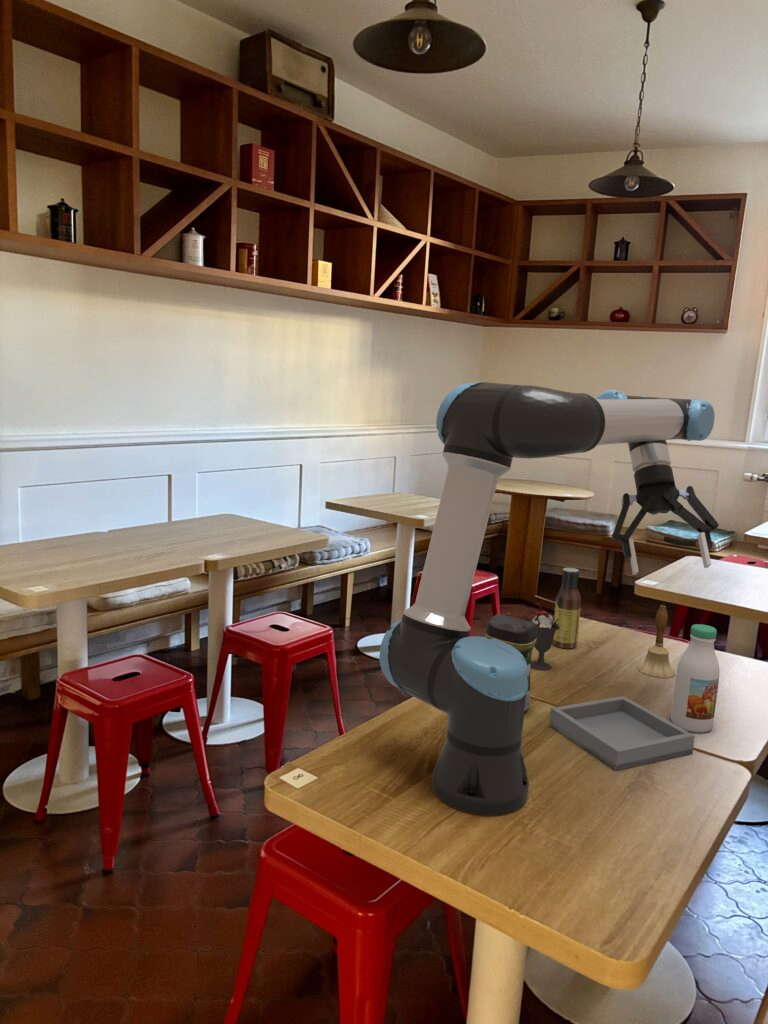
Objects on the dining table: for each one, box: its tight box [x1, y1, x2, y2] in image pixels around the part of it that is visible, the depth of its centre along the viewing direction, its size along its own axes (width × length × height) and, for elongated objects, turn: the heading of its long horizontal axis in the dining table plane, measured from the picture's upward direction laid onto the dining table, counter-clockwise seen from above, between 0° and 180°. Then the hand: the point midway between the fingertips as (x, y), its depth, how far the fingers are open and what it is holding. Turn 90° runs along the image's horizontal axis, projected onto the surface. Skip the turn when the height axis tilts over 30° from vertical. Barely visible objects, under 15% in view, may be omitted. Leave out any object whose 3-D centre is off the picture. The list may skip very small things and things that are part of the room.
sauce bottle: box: [552, 567, 582, 650], centre depth 188 cm, size 6×6×20 cm
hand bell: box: [636, 604, 676, 679], centre depth 174 cm, size 8×8×16 cm
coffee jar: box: [485, 613, 536, 713], centre depth 150 cm, size 10×8×19 cm
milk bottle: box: [670, 623, 720, 734], centre depth 146 cm, size 8×8×20 cm
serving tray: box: [549, 695, 696, 772], centre depth 139 cm, size 18×18×4 cm
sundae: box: [530, 602, 560, 671], centre depth 173 cm, size 7×7×15 cm
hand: (671, 570), depth 148 cm, fingers open, 13 cm apart
